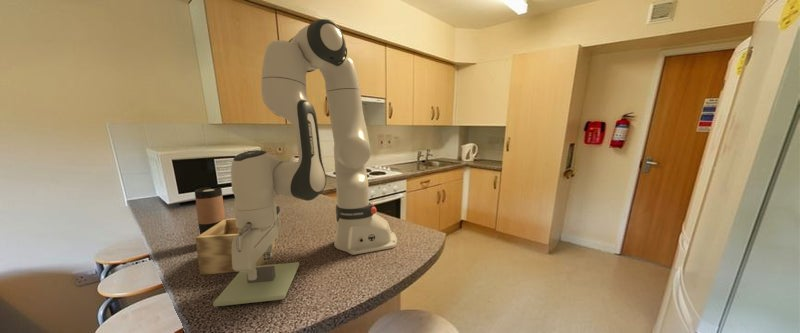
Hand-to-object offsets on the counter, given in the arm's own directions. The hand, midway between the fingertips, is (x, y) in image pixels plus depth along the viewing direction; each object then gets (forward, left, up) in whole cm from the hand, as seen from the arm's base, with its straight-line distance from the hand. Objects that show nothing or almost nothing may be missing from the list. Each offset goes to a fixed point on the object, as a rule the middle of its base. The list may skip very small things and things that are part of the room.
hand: (261, 267), depth 64 cm
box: (+12, -16, -5) cm, 21 cm away
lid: (0, 0, -6) cm, 6 cm away
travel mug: (+27, -30, -5) cm, 41 cm away
